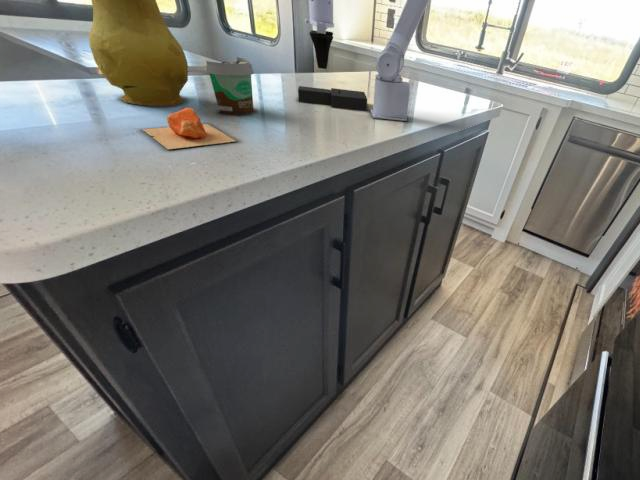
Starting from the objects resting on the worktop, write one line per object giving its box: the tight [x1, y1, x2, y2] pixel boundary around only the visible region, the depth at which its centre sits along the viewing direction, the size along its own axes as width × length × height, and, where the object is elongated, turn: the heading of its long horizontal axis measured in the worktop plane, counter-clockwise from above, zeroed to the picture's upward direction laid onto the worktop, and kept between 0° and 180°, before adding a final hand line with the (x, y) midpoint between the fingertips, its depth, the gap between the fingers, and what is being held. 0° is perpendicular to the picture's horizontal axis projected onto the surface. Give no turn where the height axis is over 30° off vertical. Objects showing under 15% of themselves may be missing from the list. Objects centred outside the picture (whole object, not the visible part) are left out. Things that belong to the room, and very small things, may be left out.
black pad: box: [297, 85, 339, 106], centre depth 96 cm, size 11×5×3 cm, turn 99°
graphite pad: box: [330, 87, 368, 112], centre depth 98 cm, size 10×10×3 cm
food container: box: [206, 56, 254, 116], centre depth 77 cm, size 12×6×10 cm, turn 168°
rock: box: [141, 107, 236, 150], centre depth 62 cm, size 12×12×4 cm
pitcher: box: [88, 0, 189, 107], centre depth 71 cm, size 17×19×25 cm
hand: (322, 66), depth 89 cm, fingers open, 7 cm apart
